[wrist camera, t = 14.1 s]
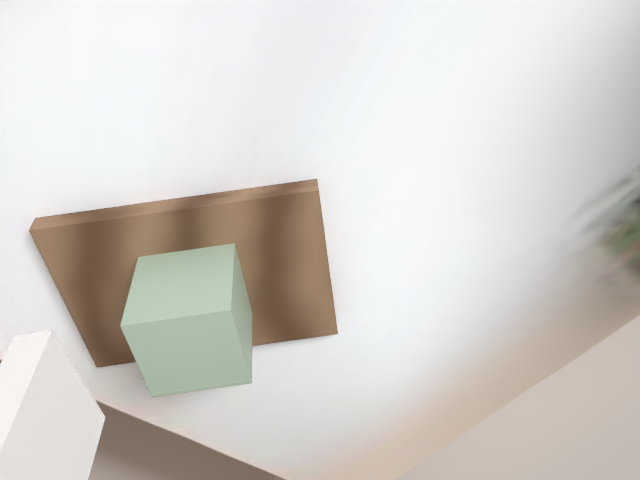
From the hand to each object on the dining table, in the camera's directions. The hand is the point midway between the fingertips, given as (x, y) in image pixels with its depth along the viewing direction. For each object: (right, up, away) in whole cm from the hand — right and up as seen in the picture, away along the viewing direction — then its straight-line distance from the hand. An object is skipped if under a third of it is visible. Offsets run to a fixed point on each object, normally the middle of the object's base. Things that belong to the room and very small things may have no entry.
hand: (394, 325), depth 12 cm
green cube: (-11, -2, +34) cm, 35 cm away
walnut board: (-11, -1, +35) cm, 36 cm away
